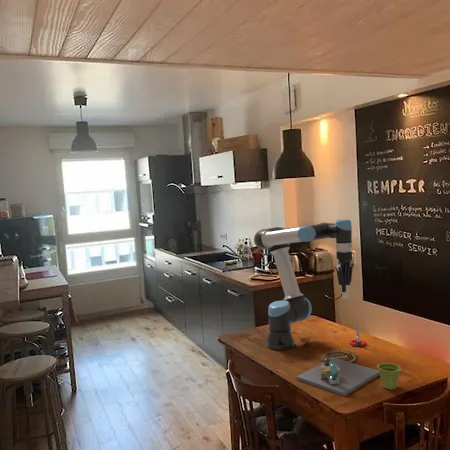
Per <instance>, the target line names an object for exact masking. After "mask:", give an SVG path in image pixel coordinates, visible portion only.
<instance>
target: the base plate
mask: <svg viewBox="0 0 450 450" xmlns="http://www.w3.org/2000/svg"><path fill="white" fill-rule="evenodd" d="M323 363H325V361H323ZM329 363H330V364H331V363H336V364H337V366H338V367H339V369H340V370H341V373H337V377H338V379H339V384H330V383H329V381H328V379H327V377H326V379H323V380H321V379H320V377H319V369H318V367H321V365H322V363H320V364H319V365H316V366H314V367H312V368H310V369H308V370H306V371H304V372H302V373H300V374H298V375H297V376H295V378H296V381H299V382H302V383H305V384H308V385H311V386H312V387H317V388H319V389H322V390H326V391H328V392H331V393H334V394H337V395H340V396H343V397H346V396H348V395H349V394H351V393H353V392H354V391H356V390H358V389H359V388H361V387H363V386H364V385H366V384H367V383H369V382H370V381H372V380H375V379H376V378H377V377H379V376H380V372H379V369H375V368H370V367H367V366H363V365H360V364H357V363H353V362H350V361H347V360H343V359H339V358H336V357H333V358H330V361H329Z"/></svg>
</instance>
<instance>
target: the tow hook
mask: <svg viewBox="0 0 450 450" xmlns="http://www.w3.org/2000/svg"><path fill="white" fill-rule="evenodd" d="M348 343H349V345H351V347H365V346H366V341H365V340H363V339H361V337H360V323H359V321H357V322H356V339H351V340H349V341H348Z"/></svg>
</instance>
